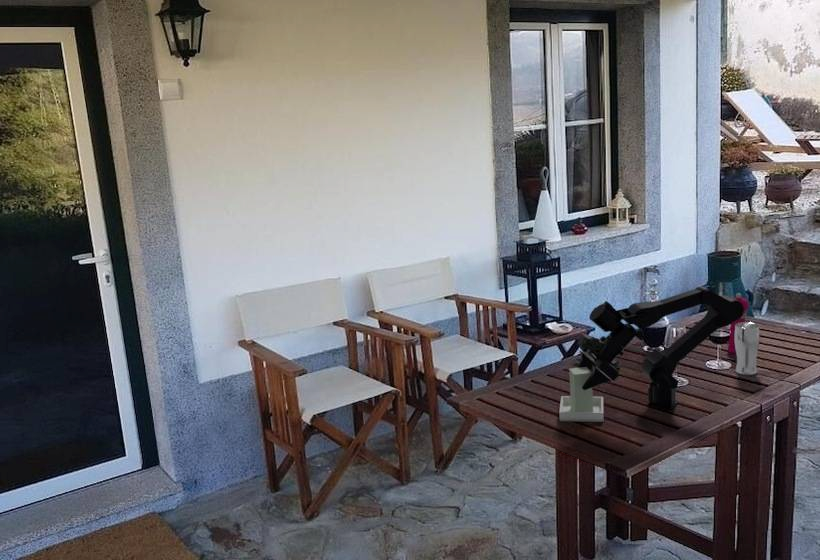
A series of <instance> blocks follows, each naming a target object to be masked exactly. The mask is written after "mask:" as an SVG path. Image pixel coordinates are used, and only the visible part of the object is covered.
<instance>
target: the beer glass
mask: <svg viewBox="0 0 820 560" xmlns="http://www.w3.org/2000/svg"><path fill="white" fill-rule="evenodd" d="M734 339H735V349H736V354H735V355H736V366H735V373H736V374H739V375H743V376H752V375H753V376H754V375H756V374H757V373H758V368H757V355H758V352H759V351H758V350H759V346H760V325H759V324H758V323H755V322H751V321H750V322H746V321H745V322H742V323H737V324H736V325H735V337H734Z"/></svg>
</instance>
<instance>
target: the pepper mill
mask: <svg viewBox="0 0 820 560" xmlns="http://www.w3.org/2000/svg"><path fill="white" fill-rule="evenodd" d="M732 298H733V299H735V300H737V301H739V302H741V303H742V305H743V306H744V314H743V316H742V317H741V318H740V319H739V320H737V321H735V322H734V323H732V324H730V325H729V329H730V330H731V334H730V339H729V341H728V342H727V344H728V345H727V352H728V353H730V354H733V355H737V354H736V349H735V339H734V337H735V325H736V324H737V323H742V322H746V317H747V315H748V314H747V310H748V309H749V302H748V300H747V299H746V298H744V297H742V293H740V292H738V293H736V294H735V297H732Z"/></svg>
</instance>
